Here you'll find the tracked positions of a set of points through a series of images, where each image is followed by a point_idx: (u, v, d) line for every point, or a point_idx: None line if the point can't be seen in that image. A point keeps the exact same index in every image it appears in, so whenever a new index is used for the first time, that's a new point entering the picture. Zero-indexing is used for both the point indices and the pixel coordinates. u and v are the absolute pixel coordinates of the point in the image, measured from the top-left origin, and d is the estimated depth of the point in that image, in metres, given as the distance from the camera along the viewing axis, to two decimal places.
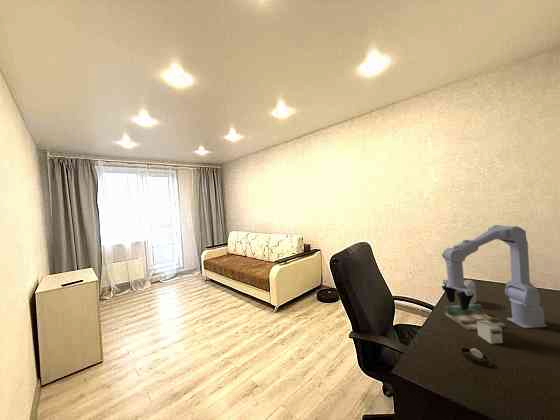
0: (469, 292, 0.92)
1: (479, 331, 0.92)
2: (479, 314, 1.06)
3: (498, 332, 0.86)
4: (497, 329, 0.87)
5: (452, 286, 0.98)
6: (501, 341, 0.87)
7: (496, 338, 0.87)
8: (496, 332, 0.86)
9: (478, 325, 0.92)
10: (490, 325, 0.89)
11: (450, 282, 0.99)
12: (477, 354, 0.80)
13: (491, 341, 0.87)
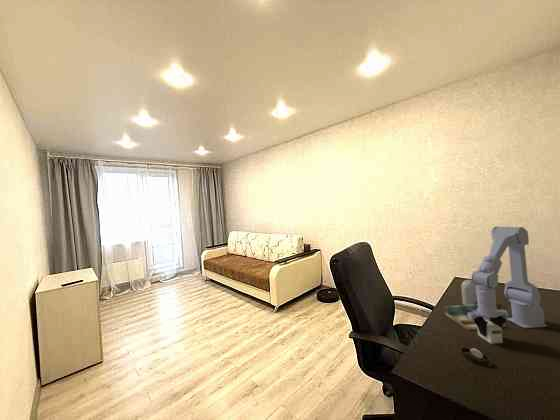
0: (469, 314, 0.90)
1: None
2: None
3: (498, 332, 0.86)
4: (497, 329, 0.87)
5: None
6: (501, 341, 0.87)
7: (496, 338, 0.87)
8: (496, 332, 0.86)
9: None
10: (490, 324, 0.89)
11: None
12: (476, 354, 0.80)
13: (491, 341, 0.87)
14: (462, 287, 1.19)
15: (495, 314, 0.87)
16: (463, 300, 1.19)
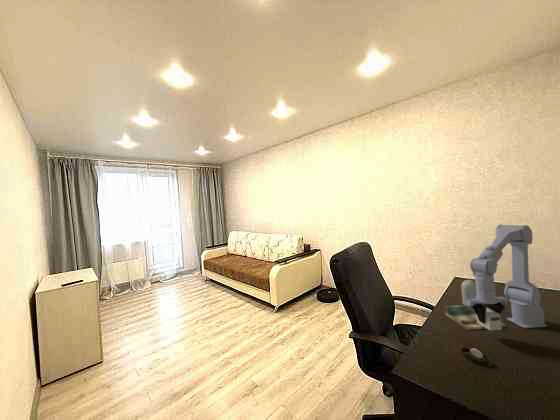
0: (468, 301, 0.90)
1: None
2: None
3: (497, 319, 0.86)
4: (496, 316, 0.87)
5: None
6: (500, 328, 0.87)
7: (495, 325, 0.87)
8: (495, 319, 0.86)
9: None
10: (489, 312, 0.89)
11: None
12: (476, 354, 0.80)
13: (490, 328, 0.87)
14: (462, 287, 1.19)
15: (494, 300, 0.87)
16: (463, 300, 1.19)
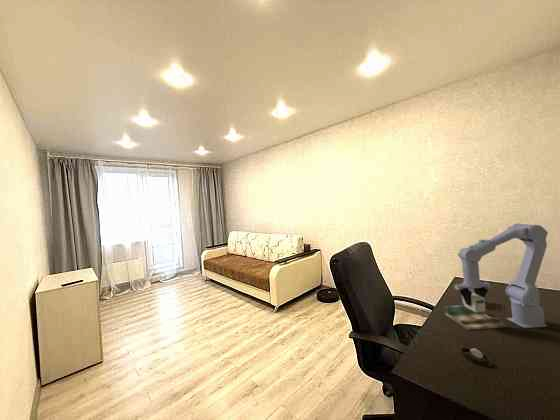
0: (456, 286, 1.02)
1: None
2: (479, 314, 1.06)
3: (481, 301, 0.97)
4: (481, 299, 0.98)
5: None
6: (484, 309, 0.98)
7: (479, 307, 0.98)
8: (480, 301, 0.98)
9: None
10: (475, 296, 1.00)
11: None
12: (476, 354, 0.80)
13: (475, 310, 0.98)
14: None
15: (478, 285, 0.99)
16: (463, 300, 1.19)
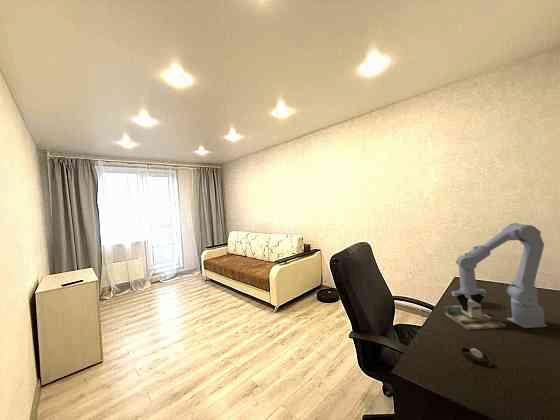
0: (453, 293, 1.05)
1: None
2: None
3: (477, 308, 1.01)
4: (477, 305, 1.02)
5: None
6: (480, 315, 1.02)
7: (475, 313, 1.02)
8: (476, 308, 1.01)
9: None
10: (471, 302, 1.04)
11: None
12: (476, 354, 0.80)
13: (472, 315, 1.02)
14: None
15: (474, 292, 1.02)
16: None
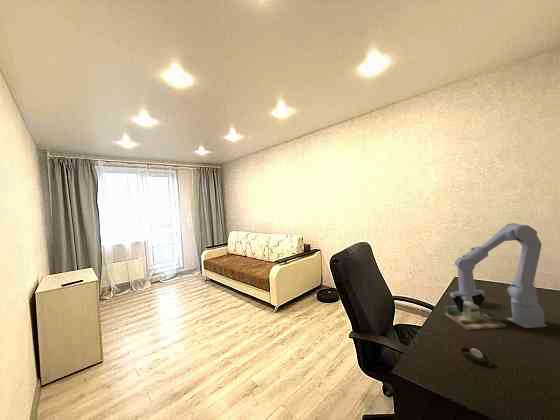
0: (451, 294, 1.06)
1: None
2: None
3: (476, 310, 1.02)
4: (475, 307, 1.03)
5: None
6: (479, 317, 1.03)
7: (474, 315, 1.03)
8: (474, 310, 1.02)
9: None
10: (470, 304, 1.05)
11: None
12: (476, 354, 0.80)
13: (470, 317, 1.03)
14: None
15: (473, 293, 1.03)
16: None
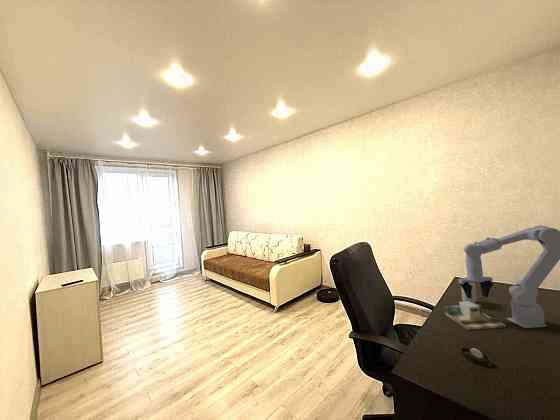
0: (460, 280, 1.07)
1: (461, 310, 1.08)
2: None
3: (476, 310, 1.02)
4: (475, 307, 1.03)
5: None
6: (479, 317, 1.03)
7: (474, 315, 1.03)
8: (474, 310, 1.02)
9: (460, 305, 1.08)
10: (470, 304, 1.05)
11: None
12: (476, 354, 0.80)
13: (470, 317, 1.03)
14: None
15: (481, 279, 1.04)
16: (463, 300, 1.19)
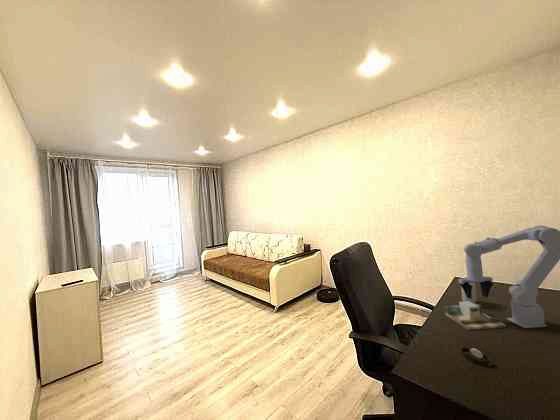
0: (460, 280, 1.07)
1: (461, 310, 1.08)
2: None
3: (476, 310, 1.02)
4: (475, 307, 1.03)
5: None
6: (479, 317, 1.03)
7: (474, 315, 1.03)
8: (474, 310, 1.02)
9: (460, 305, 1.08)
10: (470, 304, 1.05)
11: None
12: (476, 354, 0.80)
13: (470, 317, 1.03)
14: None
15: (481, 279, 1.04)
16: (463, 300, 1.19)
